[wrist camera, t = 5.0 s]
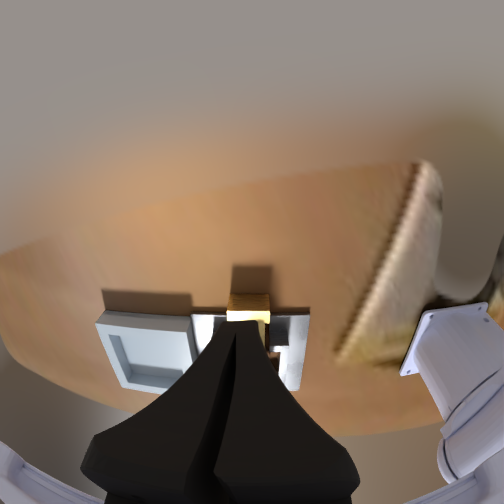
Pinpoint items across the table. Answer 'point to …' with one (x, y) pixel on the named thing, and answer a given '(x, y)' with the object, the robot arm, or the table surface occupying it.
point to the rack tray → (147, 348)
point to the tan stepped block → (250, 309)
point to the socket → (280, 340)
